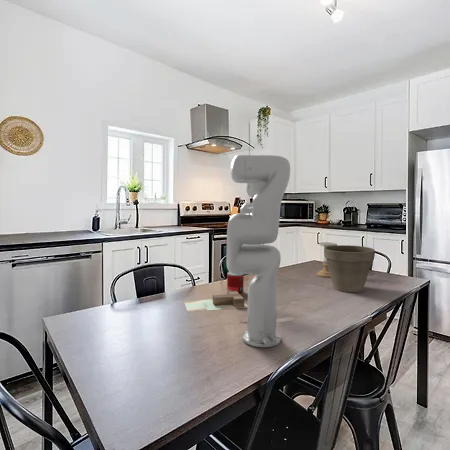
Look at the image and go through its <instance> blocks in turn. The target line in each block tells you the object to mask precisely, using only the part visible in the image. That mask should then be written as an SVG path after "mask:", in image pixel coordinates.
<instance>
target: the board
mask: <svg viewBox="0 0 450 450" xmlns="http://www.w3.org/2000/svg"><path fill="white" fill-rule="evenodd" d="M202 300H203V299H200V300H198V299H197V300H184V301H183V303H184V305H185V304H194V303H203V302H202ZM219 306H220V308H221V309H222V310H233V309H245V308H247V309H248V303H246V302H245V301H244V307H236V308H235V307H234V306H233V305H219ZM186 311H187V313H194V312H207V309H206V307H204V308H190V309H186Z"/></svg>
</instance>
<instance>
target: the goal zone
mask: <svg viewBox="0 0 450 450" xmlns="http://www.w3.org/2000/svg"><path fill="white" fill-rule="evenodd" d="M201 300H202V302H203V303H194V304H185V303H184V305H185V306H184V307H186V310H187V309H190V308H204V307H206V309H207V311H219V310H223V309H221V308H220V306H214V304H213V298H211V299H201ZM207 311H206V312H207Z"/></svg>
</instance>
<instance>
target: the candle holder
mask: <svg viewBox="0 0 450 450" xmlns="http://www.w3.org/2000/svg"><path fill="white" fill-rule="evenodd" d="M318 244H319V245H320V247H321V246H322V247H323V248H324V247H327V246H336V245H338V243H336V242H328V241H327V242H319V243H318ZM322 262H323V263H322V266H323V269H321V270H319V271H317V272H316V276H318V277H321V278H329V279H331V276H330V272H329V269H328V265H327V260H326V258H325V257H324V256H323V259H322Z"/></svg>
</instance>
